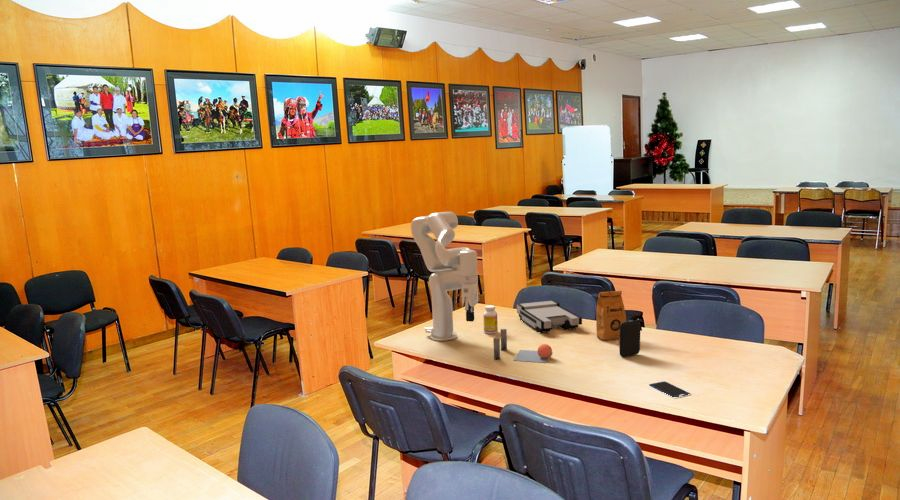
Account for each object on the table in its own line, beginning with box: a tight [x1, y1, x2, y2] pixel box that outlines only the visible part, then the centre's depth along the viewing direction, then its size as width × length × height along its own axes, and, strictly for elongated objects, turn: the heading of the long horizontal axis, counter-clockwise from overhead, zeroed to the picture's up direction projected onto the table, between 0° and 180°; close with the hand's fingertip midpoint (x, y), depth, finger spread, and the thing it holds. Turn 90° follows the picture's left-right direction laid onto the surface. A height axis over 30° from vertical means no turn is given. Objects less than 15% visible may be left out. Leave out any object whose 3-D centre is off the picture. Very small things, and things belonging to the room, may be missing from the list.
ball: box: [536, 343, 553, 359], centre depth 252 cm, size 6×6×6 cm
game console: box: [516, 300, 583, 333], centre depth 302 cm, size 21×32×8 cm, turn 14°
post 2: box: [500, 328, 508, 352], centre depth 265 cm, size 3×3×9 cm
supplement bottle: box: [482, 304, 499, 335], centre depth 292 cm, size 7×7×13 cm
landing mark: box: [513, 349, 551, 364], centre depth 255 cm, size 14×14×1 cm
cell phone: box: [648, 381, 691, 398], centre depth 215 cm, size 7×14×1 cm, turn 21°
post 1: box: [492, 336, 501, 361], centre depth 253 cm, size 3×3×9 cm
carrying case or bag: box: [618, 319, 643, 358], centre depth 251 cm, size 11×3×15 cm, turn 111°
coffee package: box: [595, 290, 627, 341], centre depth 275 cm, size 10×12×22 cm
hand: (470, 320), depth 262 cm, fingers closed
